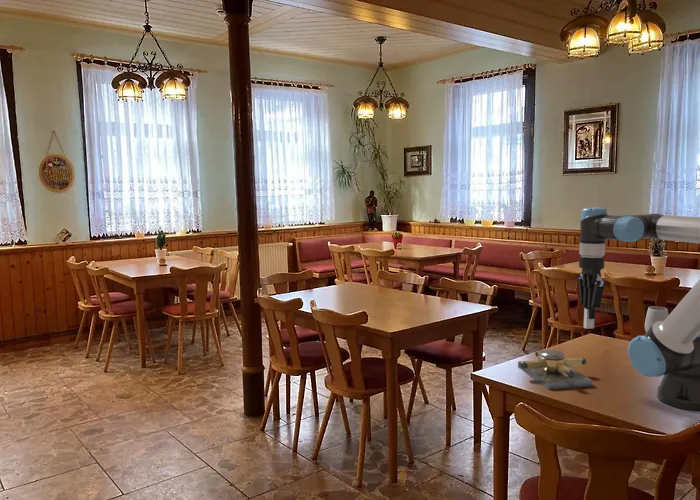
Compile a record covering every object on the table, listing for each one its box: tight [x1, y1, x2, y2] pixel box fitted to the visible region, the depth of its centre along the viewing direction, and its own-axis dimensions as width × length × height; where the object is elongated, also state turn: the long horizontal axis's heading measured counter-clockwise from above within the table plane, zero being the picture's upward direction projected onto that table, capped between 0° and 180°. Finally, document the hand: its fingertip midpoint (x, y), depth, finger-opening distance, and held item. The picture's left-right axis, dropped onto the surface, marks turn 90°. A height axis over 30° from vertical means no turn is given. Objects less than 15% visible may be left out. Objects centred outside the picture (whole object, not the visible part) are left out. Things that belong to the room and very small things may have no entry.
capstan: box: [520, 349, 587, 378], centre depth 194 cm, size 24×24×5 cm
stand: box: [517, 357, 593, 390], centre depth 194 cm, size 22×15×3 cm
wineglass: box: [644, 306, 669, 333], centre depth 202 cm, size 8×8×21 cm
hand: (588, 327), depth 186 cm, fingers closed
